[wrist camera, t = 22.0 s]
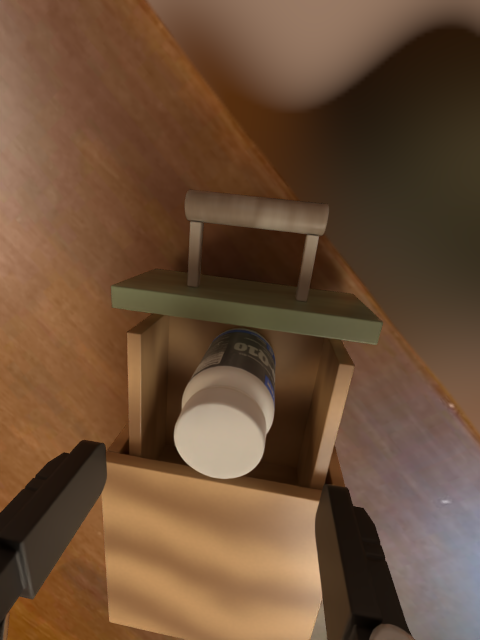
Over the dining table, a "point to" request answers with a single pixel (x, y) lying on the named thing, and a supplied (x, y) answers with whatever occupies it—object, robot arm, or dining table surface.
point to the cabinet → (209, 551)
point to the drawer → (254, 314)
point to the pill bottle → (228, 406)
